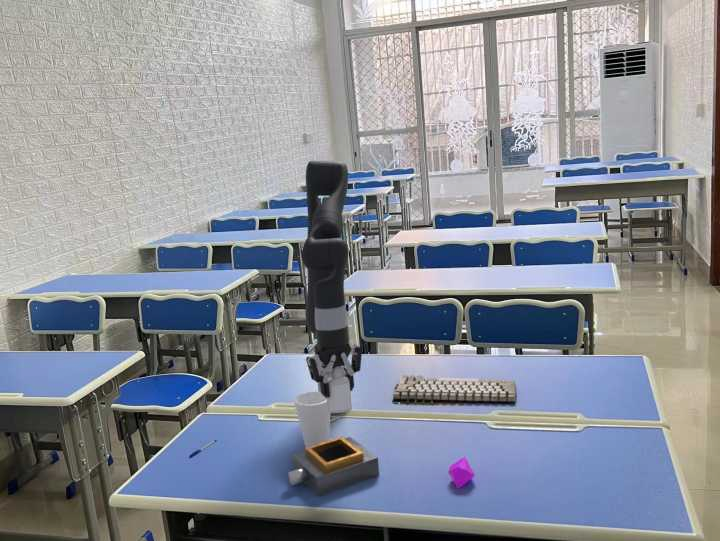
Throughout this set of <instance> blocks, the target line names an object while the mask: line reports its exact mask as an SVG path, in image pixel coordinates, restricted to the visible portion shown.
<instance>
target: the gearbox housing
mask: <svg viewBox="0 0 720 541" xmlns="http://www.w3.org/2000/svg"><path fill="white" fill-rule="evenodd" d="M291 457H292V466H293V467H292V469H293V470H292V471H289V472H288V473H287V474H288V475H287V477H288V481H289V483H290V485H291V486H295V485H297V484H301V483H304V484H305V485H306V486H307V487H308V488H309V489H310V490H311V491H312V493H314V495H316V496H317V497H318V498H319V497H322V496H324V495H327V494H330V493H332V492H336V491H339V490H341V489H345V488H347V487H350V486H352V485H355V484H358V483H361V482H365V481H367V480H370V479H372V478H375V477H379V476H380V469H379V468H380V467H379V457H378V456H376V455H375V454H374V453H373V452H371V451H370V450H369V449H368V448H365V446H363V445H362V444H360V443H359V442H358V441H357V440H355V439H354V438H352V437H351V436H348V437H345V438H344V437H343V436H339V437H337V438H333V439H329V441H326V442H323V443H320V444H316V445H313V446H310V447H307V448H306V447H305V449H304V450H302V451H300V452H297V453H294V454H292V455H291Z"/></svg>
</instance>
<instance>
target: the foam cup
mask: <svg viewBox="0 0 720 541" xmlns="http://www.w3.org/2000/svg"><path fill="white" fill-rule="evenodd" d="M294 407H295V408H294V409H295V411H296V413H297V418H298V422H299V426H300V430H301V434H302V439H303V443H304V447H305V448H307V447H310V446H313V445H316V444H320V443H323V442H326V441H329V440H330V431H331V429H330V428H331V413H330V412H329V411H328V404H327V398H326V397H324V396H323V395H322V394H321V392H318V391H310V392H309V391H308V392H305V393H301V394H300V395H298V396H296V397H295V398H294Z"/></svg>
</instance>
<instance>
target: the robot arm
mask: <svg viewBox="0 0 720 541" xmlns="http://www.w3.org/2000/svg"><path fill="white" fill-rule="evenodd" d="M347 166H348V165H347V164H346V163H345V162H344V161H340V160H310V161H308V162H307V165H306V170H305V188H306V189H305V191H306V204H307V205H306V206H307V207H306V208H307V236H306V237H307V238H306V240H305V242H304V243H303V245H302V249H301V261H302V263H303V264H302V265H303V266H304V267H305V268H306V269H307V290H306V291H307V292H306V301H305V302H306V304H305V307H306V308H305V321H306V323H305V324H306V327H307V329H308V330H309V332H310V333H312V334H316V335H315V336H316V344H315V345H314V350H313V351H314V355H313V356H307V357H306V358H305V361H306V364H307V368H308V372H309V374H310V378H311V380H312V381H314V382H316V383H317V389H318V390H317V392H321V394H322V395H323V396H324V397H326V398H329V397H330V391H329V383H328V382H327V381H328V379H329V378H331V377H332V374H331V371H332V368H335V367H337V366H340V367H341V370H342V376H345V377H347V378H348V379H349V383H350V392H353V390H354V388H355V380H354V379H355V378H354V375H355V373H357V372H360V371H361V368H362V367H361V366H362V355H363V354H362V352H363V347H361V346H359V345H357V344H353V345H350V333H349V331H350V330H349V318H348V313H347V309H346V308H347V307H346V299H345V297H346V296H345V274H346V269H347V263H348V260H349V251H350V250H349V246H348V244H347V242H346V241H345V240H344V239H342V238H341V236H342V218H343V211H344V206H345V204H346V203H345V202H346V198H347V192H348V187H349V170H348V167H347ZM319 196H321V197H327V198H326V199H325V200H323V201H322V202H320V201H321V200H320V197H319ZM350 354H351V362H350V361H349V356H350Z"/></svg>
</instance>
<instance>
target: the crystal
mask: <svg viewBox="0 0 720 541" xmlns="http://www.w3.org/2000/svg"><path fill="white" fill-rule="evenodd" d="M447 473H448V475H449V477H450V479H451V481H452V482H453V483H454V486H456V488H457V489H460V488H461V487H463V486H464V485H465V484H466V483H468V482H469V481H470V480H471V479H473V478H474V477H475V472H474V471H473V469H472V467H471V465H470V464H469V462H468V460H467V457H466V456H464V457H462V458H460V459H459V460H457V461H455V462H454V463H452V464H451V465H450V466H449V469H448V472H447Z"/></svg>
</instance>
